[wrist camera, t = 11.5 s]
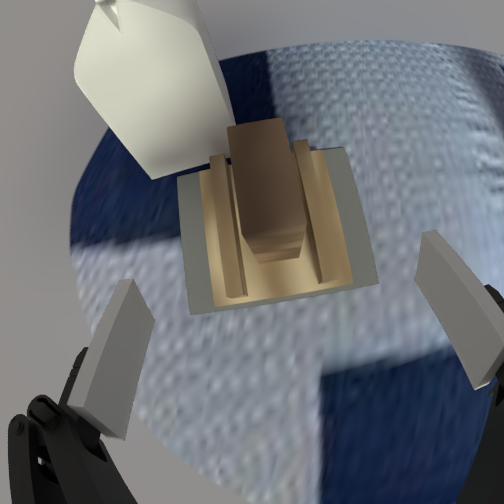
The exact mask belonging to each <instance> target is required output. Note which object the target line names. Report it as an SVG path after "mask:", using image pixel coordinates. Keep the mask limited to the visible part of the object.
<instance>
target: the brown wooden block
mask: <svg viewBox="0 0 504 504" xmlns="http://www.w3.org/2000/svg"><path fill="white" fill-rule="evenodd" d="M227 135H228V142H229V149H230V156H231V163H232V170H233V178H234V185H235V192H236V199H237V206H238V213H239V220H240V227H241V234H242V236H243V238H244V239H245V241H246V243H247V244H248V246H249V248H250V249H251V251H252V253H253V255H254V256H255V258H256V260H257V261H258V263H259V264H265V263H271V262H277V261H283V260H289V259H295V258H299V256H300V252H301V248H302V243H303V239H304V235H305V230H306V226H307V220H306V216H305V211H304V206H303V201H302V197H301V192H300V188H299V183H298V179H297V174H296V170H295V166H294V162H293V157H292V153H291V149H290V145H289V141H288V137H287V133H286V129H285V125H284V121H283V118H282V117H280V118H273V119H267V120H261V121H255V122H250V123H244V124H239V125H234V126H229V127H227Z"/></svg>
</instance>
